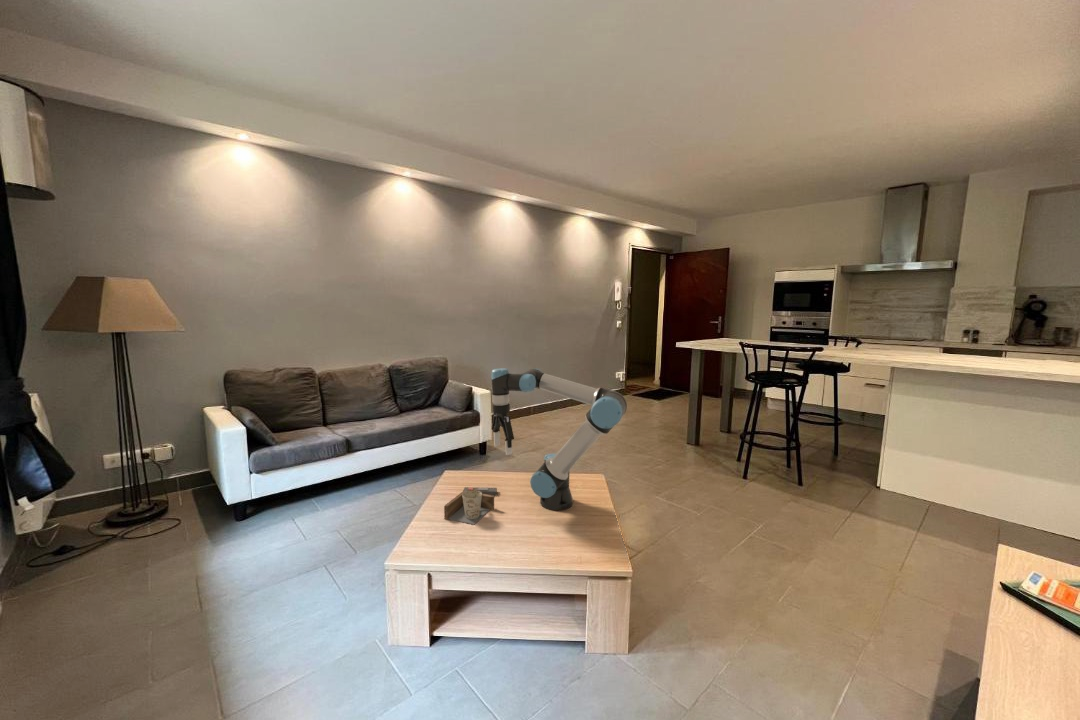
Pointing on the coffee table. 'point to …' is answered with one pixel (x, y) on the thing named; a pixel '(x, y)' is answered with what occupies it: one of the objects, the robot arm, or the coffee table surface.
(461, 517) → the mat
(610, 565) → the coffee table surface
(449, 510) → the brown corner wall
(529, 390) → the robot arm
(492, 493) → the remote
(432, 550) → the coffee table surface
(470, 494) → the mug
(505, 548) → the coffee table surface
